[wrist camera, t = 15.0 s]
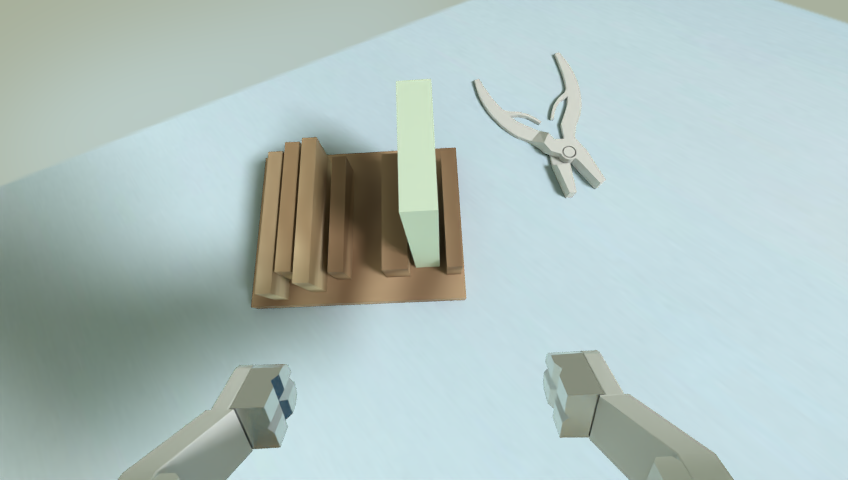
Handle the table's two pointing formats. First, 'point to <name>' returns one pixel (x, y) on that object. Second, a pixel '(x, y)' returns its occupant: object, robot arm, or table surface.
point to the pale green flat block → (417, 170)
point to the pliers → (557, 149)
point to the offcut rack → (349, 232)
